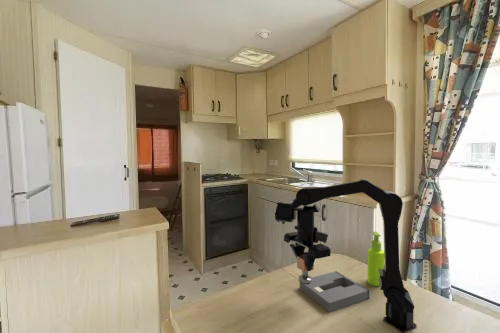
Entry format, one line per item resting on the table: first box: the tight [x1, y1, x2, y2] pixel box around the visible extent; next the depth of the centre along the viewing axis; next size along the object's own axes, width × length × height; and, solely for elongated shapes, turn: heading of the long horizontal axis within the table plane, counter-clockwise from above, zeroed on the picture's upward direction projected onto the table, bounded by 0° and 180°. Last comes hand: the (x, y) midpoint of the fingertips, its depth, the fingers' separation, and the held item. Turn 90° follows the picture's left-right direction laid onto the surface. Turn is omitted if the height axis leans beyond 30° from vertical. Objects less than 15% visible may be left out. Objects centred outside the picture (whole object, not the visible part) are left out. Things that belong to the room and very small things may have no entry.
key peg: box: [296, 255, 315, 284], centre depth 84 cm, size 4×4×8 cm
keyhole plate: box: [299, 271, 370, 313], centre depth 90 cm, size 18×16×3 cm
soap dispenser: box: [367, 231, 385, 288], centre depth 97 cm, size 6×7×20 cm
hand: (305, 268), depth 84 cm, fingers closed on key peg, 4 cm apart
